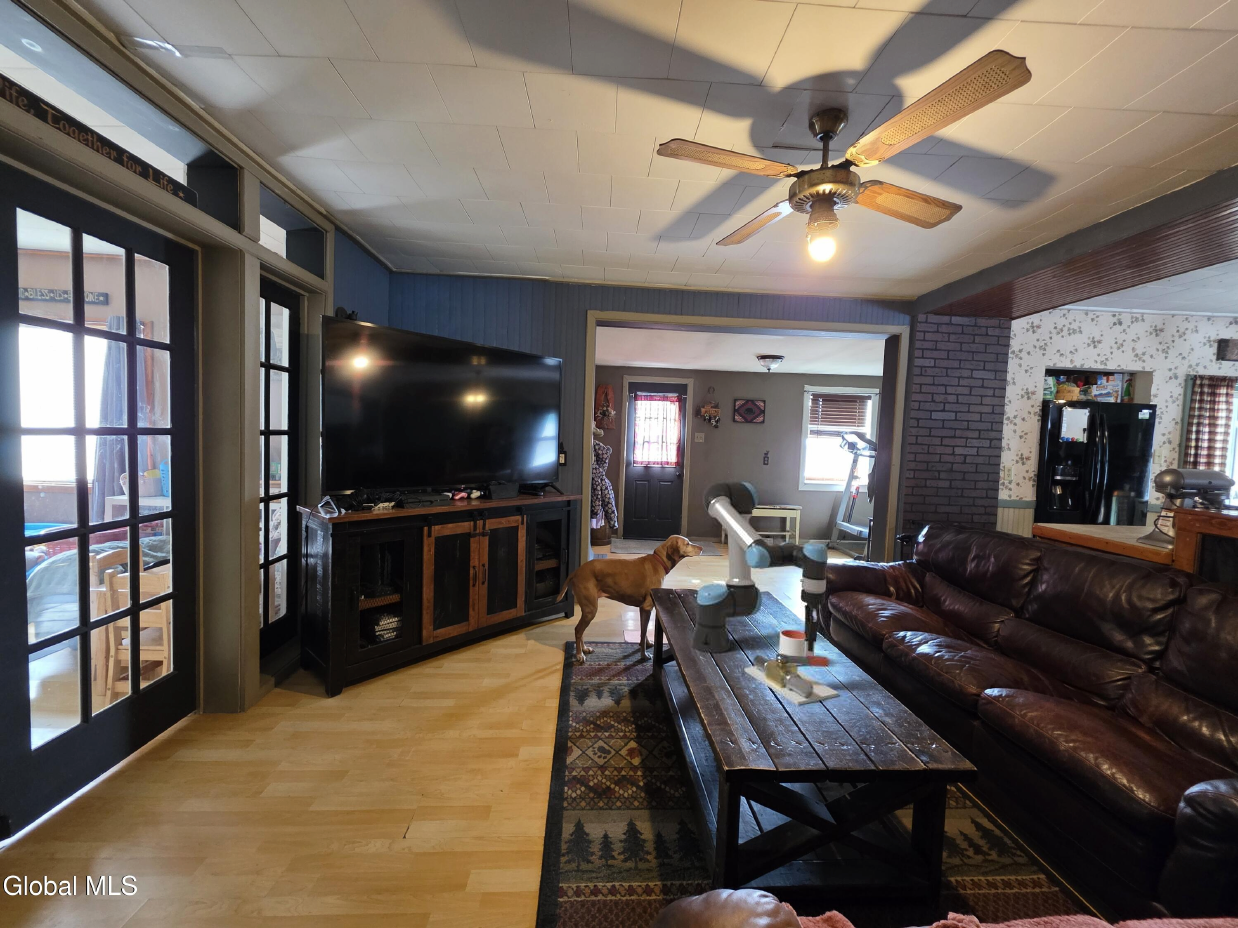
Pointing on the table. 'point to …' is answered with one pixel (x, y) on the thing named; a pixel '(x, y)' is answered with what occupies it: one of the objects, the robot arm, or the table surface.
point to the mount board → (818, 690)
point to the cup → (792, 643)
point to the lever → (802, 660)
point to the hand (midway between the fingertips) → (808, 659)
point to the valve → (783, 675)
